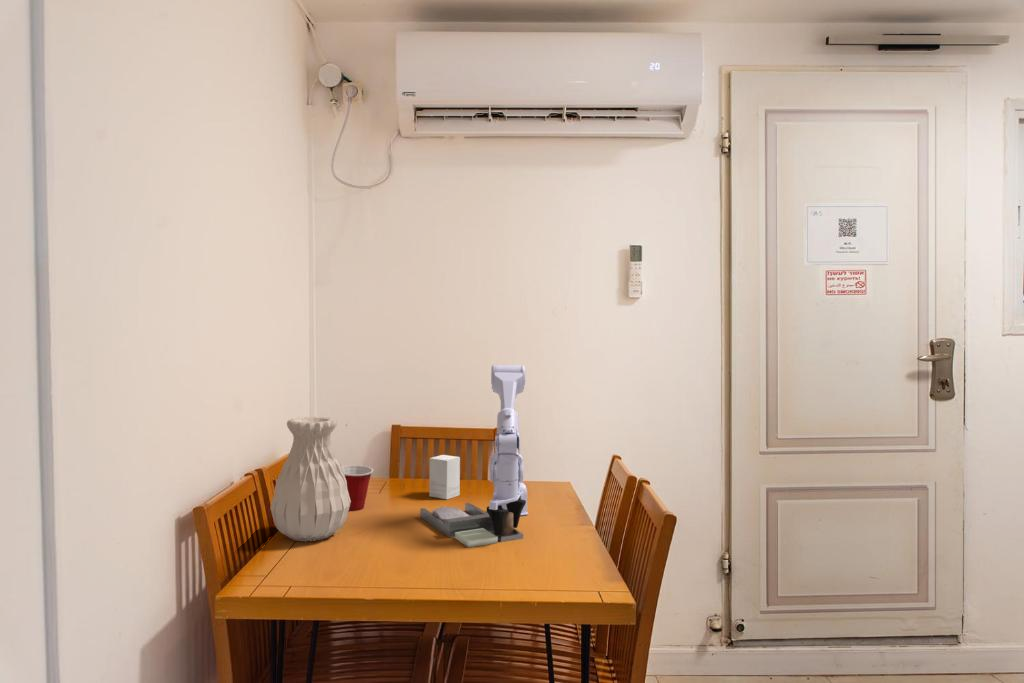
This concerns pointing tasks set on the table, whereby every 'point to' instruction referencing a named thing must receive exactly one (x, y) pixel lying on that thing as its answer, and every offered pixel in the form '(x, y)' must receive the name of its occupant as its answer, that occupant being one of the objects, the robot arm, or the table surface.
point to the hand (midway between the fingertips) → (506, 530)
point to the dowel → (508, 524)
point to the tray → (476, 537)
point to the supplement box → (444, 476)
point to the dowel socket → (513, 536)
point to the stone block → (449, 513)
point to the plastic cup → (357, 484)
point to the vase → (310, 484)
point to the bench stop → (459, 521)
